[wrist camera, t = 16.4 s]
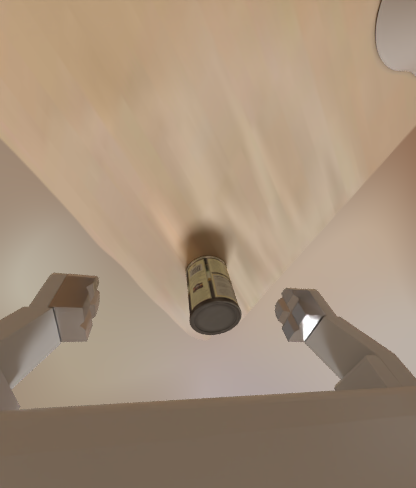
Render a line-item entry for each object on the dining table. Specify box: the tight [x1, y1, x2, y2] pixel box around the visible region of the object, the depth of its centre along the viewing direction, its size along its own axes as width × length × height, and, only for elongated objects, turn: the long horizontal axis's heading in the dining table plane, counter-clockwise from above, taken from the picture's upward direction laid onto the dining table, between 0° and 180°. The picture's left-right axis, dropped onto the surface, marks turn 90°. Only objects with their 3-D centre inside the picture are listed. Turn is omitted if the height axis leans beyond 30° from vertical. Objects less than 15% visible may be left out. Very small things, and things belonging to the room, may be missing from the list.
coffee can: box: [186, 256, 241, 335], centre depth 49 cm, size 10×10×14 cm
